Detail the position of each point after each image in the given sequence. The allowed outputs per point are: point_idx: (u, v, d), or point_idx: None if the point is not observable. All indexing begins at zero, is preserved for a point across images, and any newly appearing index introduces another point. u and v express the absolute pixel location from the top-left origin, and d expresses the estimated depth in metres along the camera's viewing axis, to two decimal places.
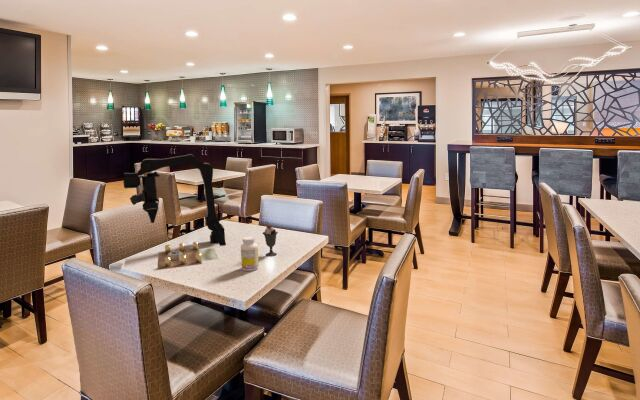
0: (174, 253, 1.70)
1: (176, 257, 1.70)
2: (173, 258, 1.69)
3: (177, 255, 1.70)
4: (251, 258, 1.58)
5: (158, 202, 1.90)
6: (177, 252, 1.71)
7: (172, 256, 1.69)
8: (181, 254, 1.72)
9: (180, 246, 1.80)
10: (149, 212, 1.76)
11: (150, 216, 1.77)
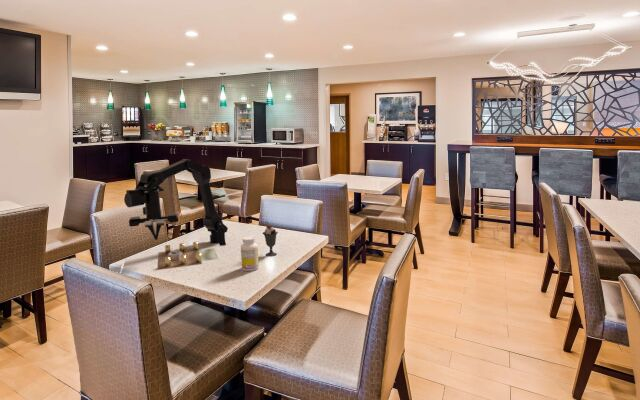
0: (174, 253, 1.70)
1: (176, 257, 1.70)
2: (173, 258, 1.69)
3: (177, 255, 1.70)
4: (251, 258, 1.58)
5: (161, 224, 1.65)
6: (177, 252, 1.71)
7: (172, 256, 1.69)
8: (181, 254, 1.72)
9: (180, 246, 1.80)
10: None
11: None
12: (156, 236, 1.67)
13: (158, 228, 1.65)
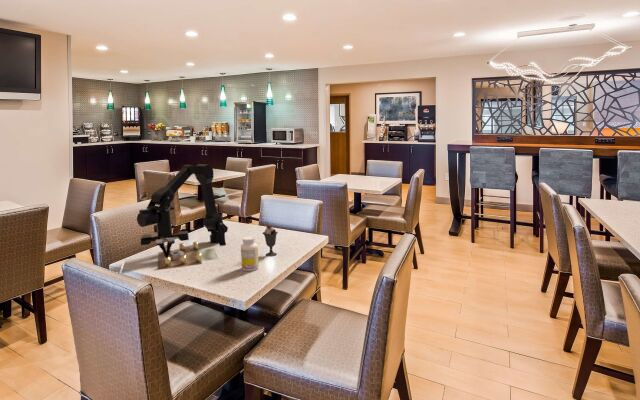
0: (175, 253, 1.71)
1: (177, 257, 1.70)
2: (174, 258, 1.70)
3: (178, 255, 1.70)
4: (251, 258, 1.58)
5: (172, 242, 1.68)
6: (178, 252, 1.72)
7: (173, 256, 1.69)
8: (182, 254, 1.72)
9: (180, 246, 1.80)
10: None
11: None
12: (167, 254, 1.70)
13: (169, 246, 1.68)
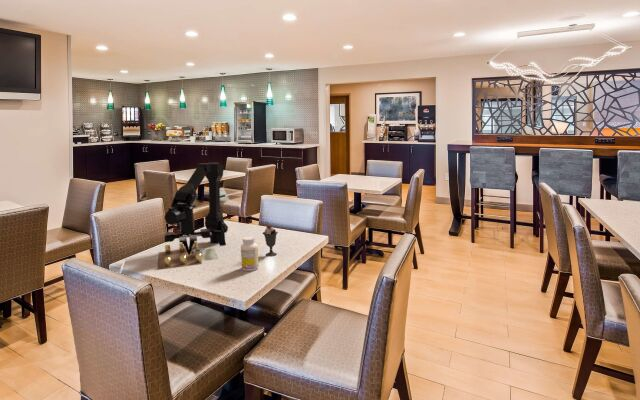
0: (197, 250, 1.73)
1: None
2: None
3: None
4: (251, 258, 1.58)
5: (195, 239, 1.71)
6: (200, 250, 1.74)
7: (195, 253, 1.72)
8: (204, 252, 1.75)
9: (180, 246, 1.80)
10: None
11: None
12: (189, 251, 1.73)
13: (191, 243, 1.71)
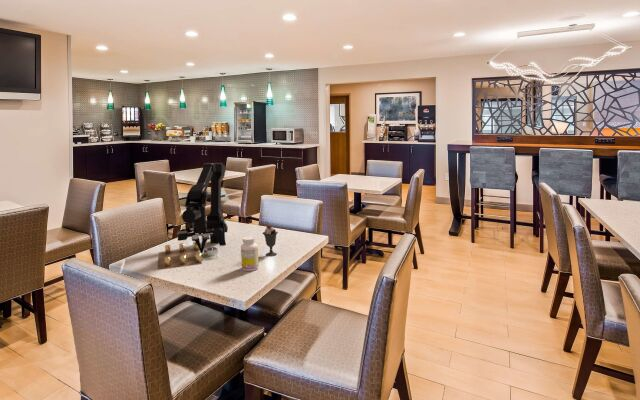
0: (210, 249, 1.75)
1: (212, 253, 1.74)
2: (209, 254, 1.74)
3: (213, 251, 1.74)
4: (251, 258, 1.58)
5: (207, 238, 1.73)
6: (212, 248, 1.76)
7: (208, 252, 1.74)
8: (216, 250, 1.76)
9: (180, 246, 1.80)
10: None
11: None
12: (202, 249, 1.74)
13: (204, 242, 1.73)
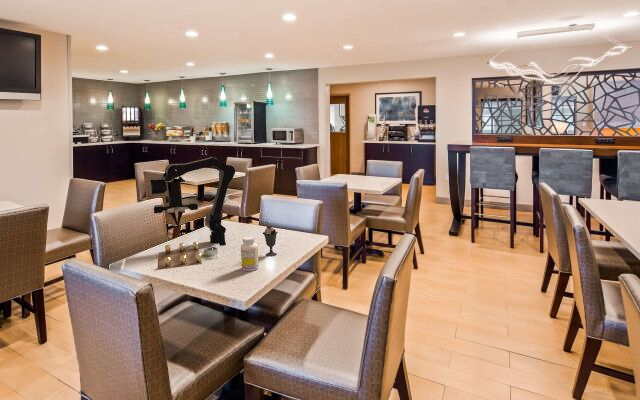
0: (210, 249, 1.75)
1: (212, 253, 1.74)
2: (209, 254, 1.74)
3: (213, 251, 1.74)
4: (251, 258, 1.58)
5: (183, 211, 1.81)
6: (212, 248, 1.76)
7: (208, 252, 1.74)
8: (216, 250, 1.76)
9: (180, 246, 1.80)
10: None
11: None
12: (178, 223, 1.82)
13: (180, 215, 1.81)
